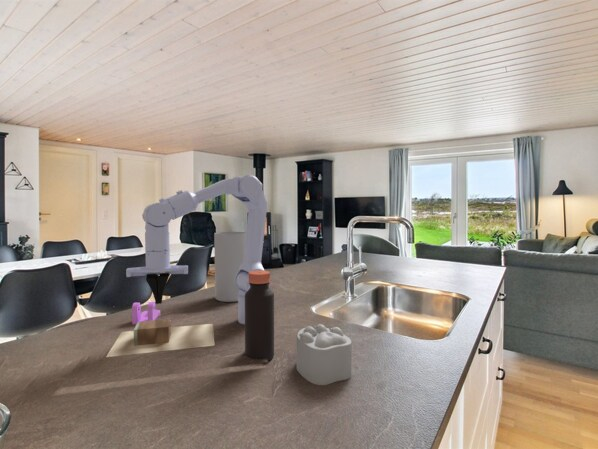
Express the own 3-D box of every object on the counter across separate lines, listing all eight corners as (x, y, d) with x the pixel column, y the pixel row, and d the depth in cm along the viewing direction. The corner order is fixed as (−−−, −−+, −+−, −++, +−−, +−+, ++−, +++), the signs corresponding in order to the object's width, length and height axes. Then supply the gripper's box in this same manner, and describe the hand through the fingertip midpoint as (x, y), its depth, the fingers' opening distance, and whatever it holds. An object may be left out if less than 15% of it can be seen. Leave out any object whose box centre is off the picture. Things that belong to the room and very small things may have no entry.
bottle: (250, 366, 75) (250, 276, 74) (241, 354, 81) (240, 271, 80) (278, 359, 78) (278, 273, 77) (267, 348, 84) (267, 268, 83)
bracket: (153, 327, 99) (152, 303, 99) (132, 328, 98) (131, 304, 98) (161, 313, 112) (161, 292, 112) (143, 314, 111) (143, 293, 110)
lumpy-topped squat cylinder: (314, 388, 66) (314, 344, 66) (287, 360, 78) (287, 323, 77) (358, 376, 71) (358, 335, 70) (326, 352, 82) (326, 317, 82)
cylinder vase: (209, 297, 130) (208, 232, 129) (237, 292, 139) (236, 231, 137) (225, 304, 121) (225, 235, 120) (254, 298, 130) (254, 233, 128)
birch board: (212, 327, 99) (212, 323, 99) (214, 349, 84) (214, 345, 84) (121, 335, 92) (121, 331, 92) (105, 361, 77) (105, 357, 77)
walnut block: (170, 319, 91) (138, 321, 89) (168, 326, 85) (133, 329, 83) (170, 333, 91) (138, 336, 89) (168, 342, 85) (134, 345, 83)
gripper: (188, 247, 93) (188, 296, 93) (129, 249, 88) (131, 300, 89) (187, 250, 86) (188, 303, 87) (123, 253, 82) (125, 308, 83)
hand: (158, 302), depth 87 cm, fingers closed
